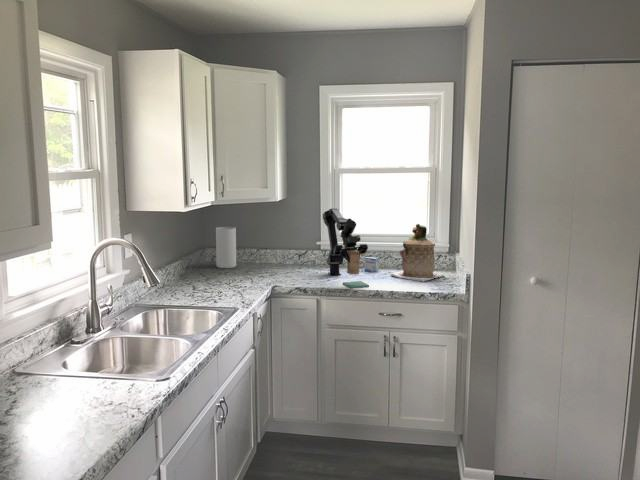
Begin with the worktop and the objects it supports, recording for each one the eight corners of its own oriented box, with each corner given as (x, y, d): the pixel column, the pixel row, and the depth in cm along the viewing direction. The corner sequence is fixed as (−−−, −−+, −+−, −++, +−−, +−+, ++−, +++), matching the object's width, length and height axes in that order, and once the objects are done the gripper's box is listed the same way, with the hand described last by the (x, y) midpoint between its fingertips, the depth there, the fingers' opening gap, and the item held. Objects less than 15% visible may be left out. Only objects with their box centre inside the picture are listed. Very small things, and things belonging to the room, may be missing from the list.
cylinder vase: (213, 268, 346) (212, 228, 343) (220, 264, 359) (219, 226, 355) (232, 268, 344) (232, 229, 341) (238, 265, 357) (238, 227, 353)
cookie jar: (446, 276, 326) (448, 223, 322) (423, 283, 309) (425, 226, 304) (411, 270, 343) (413, 220, 339) (388, 276, 325) (389, 223, 321)
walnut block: (347, 272, 301) (347, 250, 299) (355, 272, 302) (356, 249, 300) (350, 274, 296) (350, 251, 294) (358, 274, 297) (359, 251, 296)
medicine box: (364, 271, 340) (364, 257, 339) (366, 270, 344) (367, 256, 343) (376, 272, 336) (376, 258, 335) (378, 271, 340) (379, 257, 339)
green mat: (342, 283, 304) (342, 282, 304) (360, 282, 308) (360, 280, 308) (350, 288, 294) (350, 286, 294) (369, 286, 298) (369, 285, 297)
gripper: (335, 230, 297) (341, 254, 288) (367, 229, 302) (374, 252, 293) (330, 242, 305) (336, 266, 297) (361, 241, 311) (368, 264, 302)
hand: (354, 262), depth 297 cm, fingers closed on walnut block, 5 cm apart
